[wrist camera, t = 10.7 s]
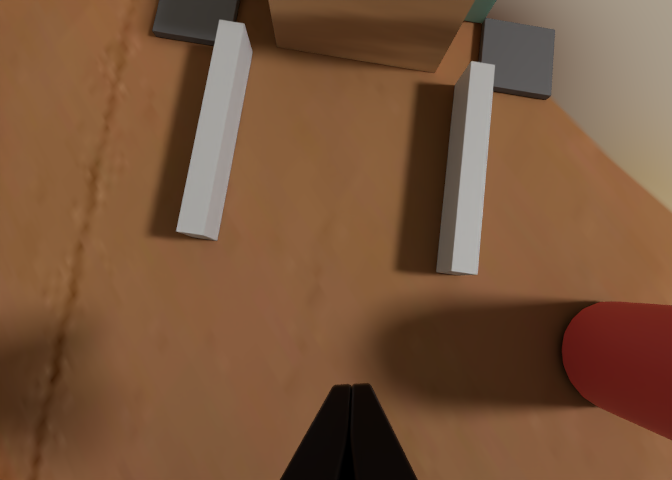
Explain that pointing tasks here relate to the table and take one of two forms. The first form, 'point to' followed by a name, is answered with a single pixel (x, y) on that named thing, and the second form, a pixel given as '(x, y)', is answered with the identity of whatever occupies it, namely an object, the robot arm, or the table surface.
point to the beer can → (624, 361)
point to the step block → (371, 29)
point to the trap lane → (465, 133)
